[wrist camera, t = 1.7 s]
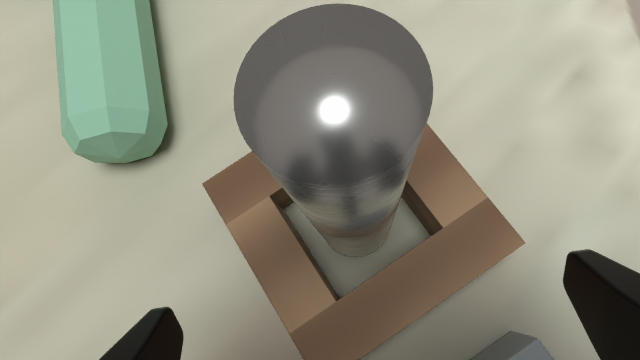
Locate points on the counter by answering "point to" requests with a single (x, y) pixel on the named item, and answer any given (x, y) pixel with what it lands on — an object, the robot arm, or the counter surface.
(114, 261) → the counter surface
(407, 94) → the axle
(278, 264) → the brown square frame
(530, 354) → the socket block
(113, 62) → the green faceted rod
